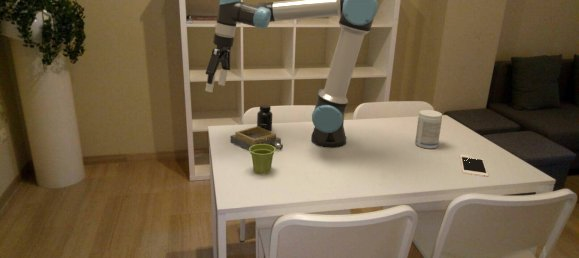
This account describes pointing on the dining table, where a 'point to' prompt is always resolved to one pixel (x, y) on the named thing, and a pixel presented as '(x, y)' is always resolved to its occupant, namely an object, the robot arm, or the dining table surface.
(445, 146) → the dining table surface
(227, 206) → the dining table surface
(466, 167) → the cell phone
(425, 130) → the supplement tub
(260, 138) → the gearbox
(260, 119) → the supplement bottle
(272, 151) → the plant pot
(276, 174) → the dining table surface
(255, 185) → the dining table surface
